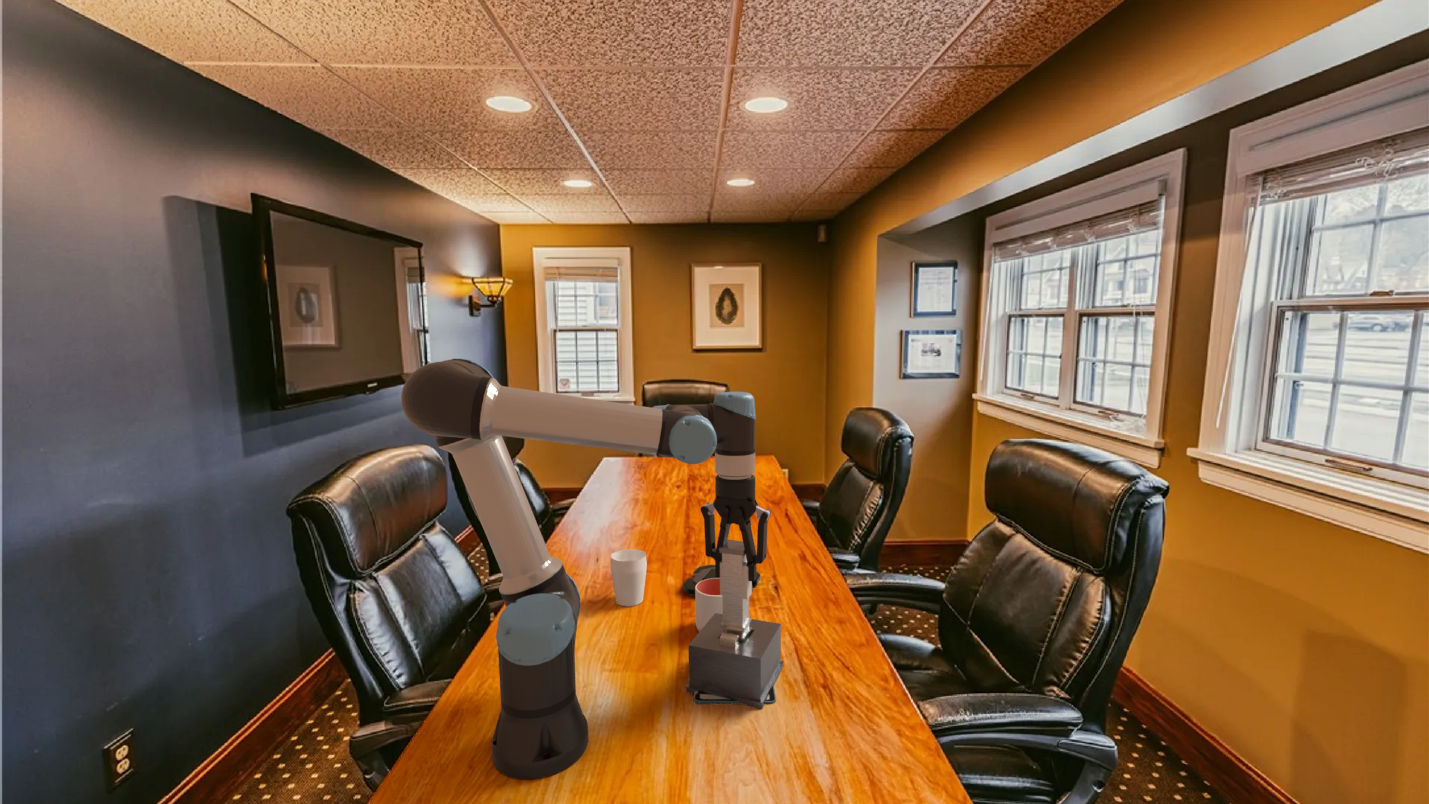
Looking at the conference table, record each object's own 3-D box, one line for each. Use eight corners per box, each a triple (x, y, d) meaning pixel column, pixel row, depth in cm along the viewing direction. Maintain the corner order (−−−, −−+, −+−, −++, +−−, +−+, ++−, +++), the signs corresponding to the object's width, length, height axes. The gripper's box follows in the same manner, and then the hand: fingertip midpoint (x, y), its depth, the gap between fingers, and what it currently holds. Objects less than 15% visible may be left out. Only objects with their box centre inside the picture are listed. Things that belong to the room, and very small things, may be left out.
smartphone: (776, 702, 109) (693, 701, 109) (776, 707, 109) (693, 706, 109) (772, 678, 116) (694, 678, 116) (772, 683, 116) (694, 682, 116)
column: (744, 658, 114) (743, 550, 111) (720, 654, 115) (719, 547, 113) (751, 646, 118) (751, 542, 116) (728, 642, 120) (728, 539, 117)
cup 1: (641, 610, 147) (639, 562, 146) (606, 607, 149) (604, 560, 147) (652, 594, 156) (651, 549, 154) (619, 592, 157) (617, 547, 156)
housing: (762, 708, 108) (762, 652, 107) (685, 691, 113) (684, 638, 112) (783, 665, 122) (783, 615, 120) (714, 652, 127) (713, 604, 126)
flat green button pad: (745, 607, 149) (745, 589, 148) (678, 597, 155) (677, 580, 154) (763, 579, 166) (763, 563, 165) (701, 571, 172) (701, 556, 171)
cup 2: (701, 642, 131) (701, 598, 130) (691, 621, 141) (690, 580, 140) (745, 636, 134) (745, 592, 133) (732, 616, 143) (732, 575, 142)
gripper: (784, 473, 113) (784, 593, 116) (700, 467, 119) (701, 581, 122) (774, 482, 106) (773, 609, 109) (685, 475, 112) (687, 596, 115)
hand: (735, 594), depth 115 cm, fingers closed on column, 4 cm apart
